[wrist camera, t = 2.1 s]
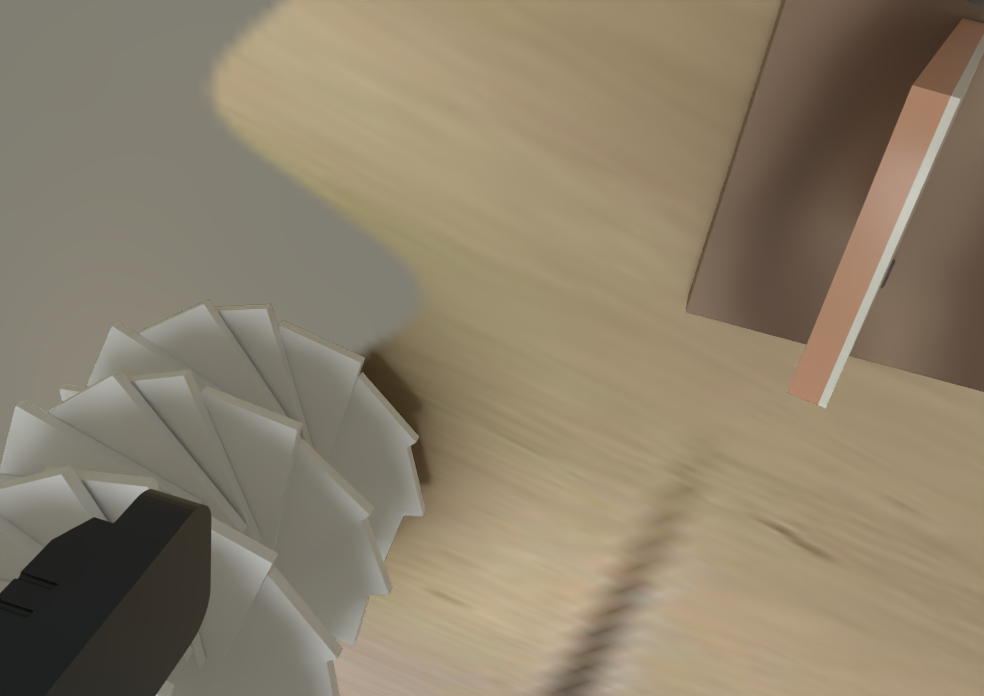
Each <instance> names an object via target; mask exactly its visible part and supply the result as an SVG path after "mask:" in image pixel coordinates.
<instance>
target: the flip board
mask: <svg viewBox="0 0 984 696" xmlns="http://www.w3.org/2000/svg"><path fill="white" fill-rule="evenodd" d="M963 18H965V19H969V20H973V21H977V22H981V23H984V0H782V4H781V7H780V10H779V13H778V16H777V19H776V22H775V25H774V29H773V32H772V35H771V38H770V41H769V44H768V47H767V51H766V54H765V57H764V60H763V63H762V66H761V69H760V72H759V76H758V79H757V82H756V85H755V88H754V91H753V94H752V98H751V101H750V104H749V107H748V110H747V113H746V116H745V119H744V123H743V126H742V129H741V132H740V135H739V138H738V141H737V145H736V148H735V151H734V154H733V157H732V160H731V163H730V166H729V170H728V173H727V176H726V179H725V182H724V185H723V188H722V192H721V195H720V198H719V201H718V204H717V207H716V210H715V213H714V217H713V220H712V223H711V226H710V229H709V232H708V235H707V238H706V242H705V245H704V248H703V251H702V254H701V257H700V260H699V264H698V267H697V270H696V273H695V276H694V279H693V282H692V285H691V289H690V292H689V295H688V300H687V307H686V312H687V313H691V314H695V315H699V316H702V317H706V318H710V319H714V320H717V321H721V322H725V323H729V324H732V325H736V326H740V327H744V328H747V329H751V330H755V331H758V332H762V333H766V334H770V335H773V336H777V337H781V338H785V339H788V340H792V341H796V342H800V343H803V344H807V343H808V340H809V338H810V335H811V333H812V330H813V328H814V326H815V323H816V321H817V318H818V316H819V313H820V311H821V308H822V306H823V303H824V301H825V298H826V296H827V294H828V291H829V289H830V286H831V284H832V281H833V279H834V276H835V274H836V271H837V269H838V267H839V264H840V262H841V259H842V257H843V254H844V252H845V249H846V247H847V244H848V242H849V239H850V237H851V235H852V232H853V230H854V227H855V225H856V222H857V220H858V217H859V215H860V212H861V210H862V208H863V205H864V203H865V200H866V198H867V195H868V193H869V190H870V188H871V185H872V183H873V180H874V178H875V176H876V173H877V171H878V168H879V166H880V163H881V161H882V158H883V156H884V153H885V151H886V148H887V146H888V144H889V141H890V139H891V136H892V134H893V131H894V129H895V126H896V124H897V121H898V119H899V117H900V114H901V112H902V109H903V107H904V104H905V102H906V99H907V97H908V94H909V92H910V89H911V87H912V85H913V84H914V82H915V81H916V80H917V78H918V77H919V76H920V74H921V73H922V72H923V70H924V69H925V68H926V66H927V65H928V64H929V62H930V61H931V60H932V58H933V57H934V56H935V54H936V53H937V52H938V50H939V49H940V48H941V46H942V45H943V44H944V42H945V41H946V40H947V38H948V37H949V36H950V34H951V33H952V32H953V30H954V29H955V28H956V26H957V25H958V24H959V22H960V21H961V20H962V19H963ZM849 356H852V357H856V358H859V359H863V360H867V361H871V362H874V363H878V364H882V365H886V366H889V367H893V368H897V369H901V370H904V371H908V372H912V373H915V374H919V375H923V376H927V377H930V378H934V379H938V380H942V381H945V382H949V383H953V384H957V385H960V386H964V387H968V388H972V389H975V390H979V391H983V392H984V53H983V56H982V58H981V60H980V62H979V65H978V67H977V69H976V72H975V74H974V76H973V78H972V81H971V83H970V85H969V87H968V90H967V92H966V94H965V97H964V99H963V101H962V103H961V106H960V108H959V110H958V113H957V115H956V117H955V119H954V122H953V124H952V126H951V129H950V131H949V133H948V135H947V138H946V140H945V142H944V144H943V147H942V149H941V151H940V154H939V156H938V158H937V160H936V163H935V165H934V167H933V170H932V172H931V174H930V176H929V179H928V181H927V183H926V186H925V188H924V190H923V192H922V195H921V197H920V199H919V201H918V204H917V206H916V208H915V211H914V213H913V215H912V217H911V220H910V222H909V224H908V227H907V229H906V231H905V233H904V236H903V238H902V240H901V243H900V245H899V247H898V249H897V252H896V254H895V256H894V258H893V260H892V263H891V265H890V267H889V269H888V271H887V274H886V276H885V278H884V280H883V283H882V285H881V287H880V289H879V291H878V294H877V296H876V298H875V300H874V302H873V305H872V307H871V309H870V311H869V313H868V316H867V318H866V320H865V322H864V324H863V327H862V329H861V331H860V333H859V336H858V338H857V340H856V342H855V344H854V347H853V349H852V351H851V353H850V355H849Z"/></svg>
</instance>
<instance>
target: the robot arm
mask: <svg viewBox="0 0 984 696" xmlns="http://www.w3.org/2000/svg"><path fill="white" fill-rule="evenodd" d="M211 522H212V519H211V511H210V509H209V507H208V506H206V505H203V504H200V503H196V502H193V501H190V500H187V499H183V498H180V497H177V496H174V495H170V494H167V493H164V492H161V491H157V490H154V489H148V490H146V491H144V492H143V493H141V494H140V495H139V496H138V497H137V498H136V499H135V500H134V501H133V503H132V504H131V505H130V506H129V507H128V508H127V509H126V510H125V511H124V512H123V514H122V515H121V516H120V517H119V518H118V519H117V520H116V521H115V522H114V523H112V522H108V521H105V520H102V519H99V518H96V517H93V518H91V519H89V520H88V521H86V522H84V523H82V524H80V525H78V526H76V527H75V528H73V529H71V530H69V531H67V532H65V533H63V534H62V535H60V536H58V537H56V538H54V539H52V540H51V541H50V542H49V543H48V544H47V545H46V546H45V547H44V548H43V549H42V550H41V551H40V552H39V553H38V555H37V556H36V557H35V558H34V559H33V560H32V561H31V562H30V563H29V564H28V565H27V566H26V567H25V568H24V569H23V570H22V571H21V574H20V576H19V578H18V579H15V578H14V579H13V580H12V581H11V582H10V583H9V584H8V585H7V586H6V587H5V589H4V590H3V591H2V592H1V593H0V696H156V695H157V693H158V692H159V690H160V689H161V687H162V686H163V684H164V683H165V681H166V680H167V678H168V677H169V676H170V674H171V673H172V671H173V670H174V668H175V667H176V665H177V664H178V662H179V661H180V659H181V658H182V656H183V655H184V653H185V652H186V651H187V649H188V648H189V646H190V645H191V643H192V642H193V640H194V638H195V636H196V635H197V633H198V631H199V629H200V627H201V624H202V622H203V619H204V617H205V614H206V611H207V607H208V603H209V599H210V590H211Z"/></svg>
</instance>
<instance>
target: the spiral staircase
mask: <svg viewBox="0 0 984 696" xmlns="http://www.w3.org/2000/svg"><path fill="white" fill-rule="evenodd" d="M364 360H365V357H363V356H360V355H358V354H356V353H354V352H352V351H349V350H347V349H345V348H343V347H341V346H339V345H336V344H334V343H332V342H330V341H328V340H326V339H323V338H321V337H319V336H317V335H315V334H312V333H310V332H308V331H306V330H304V329H302V328H299V327H297V326H295V325H293V324H291V323H289V322H286V321H284V320H283V321H282V322H281V323H280V324H279V325H277V321H276V318H275V315H274V311H273V308H272V304H259V305H239V306H216V307H214V306H213V304H212V303H211V301H210V300H209V299H208V300H206V301H204V302H202V303H200V304H198V305H195V306H193V307H191V308H189V309H187V310H185V311H182V312H180V313H178V314H176V315H174V316H172V317H169V318H167V319H165V320H163V321H161V322H159V323H156V324H154V325H152V326H150V327H148V328H145V329H144V330H143V331H141V332H140V333H139V334H137V333H136V332H135V331H133V330H131V329H130V328H128V327H127V326H125V325H124V324H122V323H121V322H119V321H118V322H116V323H115V324H114V325H113V326H112V327H111V329H110V332H109V334H108V337H107V339H106V341H105V343H104V346H103V348H102V350H101V353H100V355H99V357H98V360H97V362H96V365H95V367H94V369H93V372H92V374H91V376H90V379H89V381H88V383H87V386H86V387H85V386H79V385H73V384H67V383H66V384H64V385H63V386H62V387H60V388H59V390H60V394H61V398H62V402H61V403H59V404H58V405H56V406H54V407H53V408H52V409H51V410H50V411H48V412H46V411H44V410H42V409H40V408H39V407H37V406H35V405H33V404H32V403H30V402H28V401H26V400H22V401H21V402H20V403H19V404H18V405H16V407H15V411H14V415H13V419H12V423H11V427H10V431H9V435H8V439H7V443H6V447H5V451H4V454H3V458H2V463H1V466H0V593H1V592H2V591H3V590H4V589H5V587H6V586H7V585H8V584H9V583H10V582H11V581H12V580H13V579H14V578H15V579H18V578H19V576H20V574H21V571H22V570H23V569H24V568H25V567H26V566H27V565H28V564H29V563H30V562H31V561H32V560H33V559H34V558H35V557H36V556H37V555H38V553H39V552H40V551H41V550H42V549H43V548H44V547H45V546H46V545H47V544H48V543H49V542H50V541H51V540H52V539H54V538H56V537H58V536H60V535H62V534H63V533H65V532H67V531H69V530H71V529H73V528H75V527H76V526H78V525H80V524H82V523H84V522H86V521H88V520H89V519H91V518H93V517H96V518H99V519H102V520H105V521H108V522H112V523H114V522H115V521H116V520H117V519H118V518H119V517H120V516H121V515H122V514H123V512H124V511H125V510H126V509H127V508H128V507H129V506H130V505H131V504H132V503H133V501H134V500H135V499H136V498H137V497H138V496H139V495H140V494H141V493H143V492H144V491H146V490H148V489H154V490H157V491H161V492H164V493H167V494H170V495H174V496H177V497H180V498H183V499H187V500H190V501H193V502H196V503H200V504H203V505H206V506H208V507H209V509H210V511H211V519H212V522H211V590H210V599H209V603H208V607H207V611H206V614H205V617H204V619H203V622H202V624H201V627H200V629H199V631H198V633H197V635H196V636H195V638H194V640H193V642H192V643H191V645H190V646H189V648H188V649H187V651H186V652H185V653H184V655H183V656H182V658H181V659H180V661H179V662H178V664H177V665H176V667H175V668H174V670H173V671H172V673H171V674H170V676H169V677H168V678H167V680H166V681H165V683H164V684H163V686H162V687H161V689H160V690H159V692H158V693H157V695H156V696H340V695H339V689H338V684H337V679H336V674H335V668H334V663H333V660H334V659H338V657H339V655H340V653H341V651H342V649H343V648H342V647H341V646H340V644H339V643H338V642H337V641H336V640H335V639H337V640H340V641H342V642H345V643H347V644H350V645H352V646H354V644H355V642H356V640H357V637H358V634H359V630H360V627H361V624H362V620H363V617H364V614H365V610H366V607H367V604H368V600H369V597H370V595H389V594H390V592H391V590H392V584H391V581H390V578H389V576H388V573H387V570H386V567H385V565H384V560H385V558H386V556H387V554H388V552H389V549H390V547H391V545H392V542H393V540H394V538H395V535H396V533H397V531H398V528H399V526H400V524H401V521H402V519H403V517H404V516H423V515H424V513H425V511H426V509H425V504H424V500H423V496H422V492H421V488H420V483H419V479H418V475H417V471H416V466H415V462H414V458H413V454H412V449H411V445H413V444H415V443H416V442H417V440H418V438H419V436H418V435H417V434H416V433H415V431H414V430H413V429H412V428H411V427H410V426H409V425H408V423H407V422H406V421H405V420H404V419H403V418H402V417H401V415H400V414H399V413H398V412H397V411H396V410H395V409H394V407H393V406H392V405H391V404H390V403H389V402H388V401H387V399H386V398H385V397H384V396H383V395H382V394H381V393H380V391H379V390H378V389H377V388H376V387H375V386H374V385H373V383H372V382H371V381H370V380H369V379H368V378H367V377H366V375H365V374H364V373H363V372H362V373H360V372H361V369H362V366H363V363H364Z"/></svg>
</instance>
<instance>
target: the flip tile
mask: <svg viewBox="0 0 984 696" xmlns="http://www.w3.org/2000/svg"><path fill="white" fill-rule="evenodd" d="M983 53H984V23H981V22H977V21H973V20H969V19H965V18H963V19H962V20H961V21H960V22H959V24H958V25H957V26H956V28H955V29H954V30H953V32H952V33H951V34H950V36H949V37H948V38H947V40H946V41H945V42H944V44H943V45H942V46H941V48H940V49H939V50H938V52H937V53H936V54H935V56H934V57H933V58H932V60H931V61H930V62H929V64H928V65H927V66H926V68H925V69H924V70H923V72H922V73H921V74H920V76H919V77H918V78H917V80H916V81H915V82H914V84H913V85H912V87H911V89H910V92H909V94H908V97H907V99H906V102H905V104H904V107H903V109H902V112H901V114H900V117H899V119H898V121H897V124H896V126H895V129H894V131H893V134H892V136H891V139H890V141H889V144H888V146H887V148H886V151H885V153H884V156H883V158H882V161H881V163H880V166H879V168H878V171H877V173H876V176H875V178H874V180H873V183H872V185H871V188H870V190H869V193H868V195H867V198H866V200H865V203H864V205H863V208H862V210H861V212H860V215H859V217H858V220H857V222H856V225H855V227H854V230H853V232H852V235H851V237H850V239H849V242H848V244H847V247H846V249H845V252H844V254H843V257H842V259H841V262H840V264H839V267H838V269H837V271H836V274H835V276H834V279H833V281H832V284H831V286H830V289H829V291H828V294H827V296H826V298H825V301H824V303H823V306H822V308H821V311H820V313H819V316H818V318H817V321H816V323H815V326H814V328H813V330H812V333H811V335H810V338H809V340H808V343H807V345H806V348H805V350H804V353H803V355H802V358H801V360H800V362H799V365H798V367H797V370H796V372H795V375H794V377H793V380H792V382H791V385H790V387H789V389H788V392H787V393H789V394H792V395H794V396H796V397H799V398H801V399H804V400H806V401H809V402H811V403H814V404H816V405H818V406H821V407H823V408H826V406H827V404H828V402H829V400H830V397H831V395H832V393H833V391H834V389H835V386H836V384H837V382H838V380H839V377H840V375H841V373H842V371H843V369H844V366H845V364H846V362H847V360H848V358H849V355H850V353H851V351H852V349H853V347H854V344H855V342H856V340H857V338H858V336H859V333H860V331H861V329H862V327H863V324H864V322H865V320H866V318H867V316H868V313H869V311H870V309H871V307H872V305H873V302H874V300H875V298H876V296H877V294H878V291H879V289H880V287H881V285H882V283H883V280H884V278H885V276H886V274H887V271H888V269H889V267H890V265H891V263H892V260H893V258H894V256H895V254H896V252H897V249H898V247H899V245H900V243H901V240H902V238H903V236H904V233H905V231H906V229H907V227H908V224H909V222H910V220H911V217H912V215H913V213H914V211H915V208H916V206H917V204H918V201H919V199H920V197H921V195H922V192H923V190H924V188H925V186H926V183H927V181H928V179H929V176H930V174H931V172H932V170H933V167H934V165H935V163H936V160H937V158H938V156H939V154H940V151H941V149H942V147H943V144H944V142H945V140H946V138H947V135H948V133H949V131H950V129H951V126H952V124H953V122H954V119H955V117H956V115H957V113H958V110H959V108H960V106H961V103H962V101H963V99H964V97H965V94H966V92H967V90H968V87H969V85H970V83H971V81H972V78H973V76H974V74H975V72H976V69H977V67H978V65H979V62H980V60H981V58H982V56H983Z"/></svg>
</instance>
